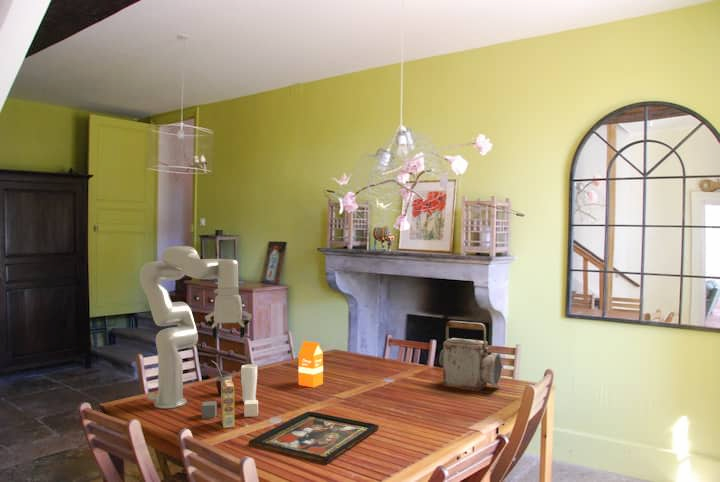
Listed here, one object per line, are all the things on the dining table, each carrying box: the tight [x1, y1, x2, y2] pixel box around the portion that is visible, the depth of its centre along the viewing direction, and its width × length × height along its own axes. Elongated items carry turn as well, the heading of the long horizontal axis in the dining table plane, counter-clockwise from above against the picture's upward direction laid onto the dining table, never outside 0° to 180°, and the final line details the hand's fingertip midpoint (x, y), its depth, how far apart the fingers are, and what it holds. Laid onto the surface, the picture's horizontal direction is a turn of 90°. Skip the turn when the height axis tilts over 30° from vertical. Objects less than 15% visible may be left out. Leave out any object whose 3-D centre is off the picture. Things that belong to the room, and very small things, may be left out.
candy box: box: [220, 379, 235, 429], centre depth 201 cm, size 9×4×15 cm, turn 20°
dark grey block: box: [201, 400, 218, 419], centre depth 210 cm, size 5×5×5 cm
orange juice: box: [298, 340, 324, 388], centre depth 256 cm, size 8×9×20 cm
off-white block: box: [243, 399, 259, 418], centre depth 212 cm, size 5×5×5 cm
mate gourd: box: [211, 360, 234, 397], centre depth 239 cm, size 8×8×15 cm
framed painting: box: [248, 411, 380, 465], centre depth 188 cm, size 38×35×3 cm
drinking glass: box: [240, 363, 258, 403], centre depth 228 cm, size 7×7×15 cm
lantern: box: [438, 320, 503, 392], centre depth 254 cm, size 16×27×30 cm, turn 60°
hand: (228, 337), depth 203 cm, fingers open, 9 cm apart
